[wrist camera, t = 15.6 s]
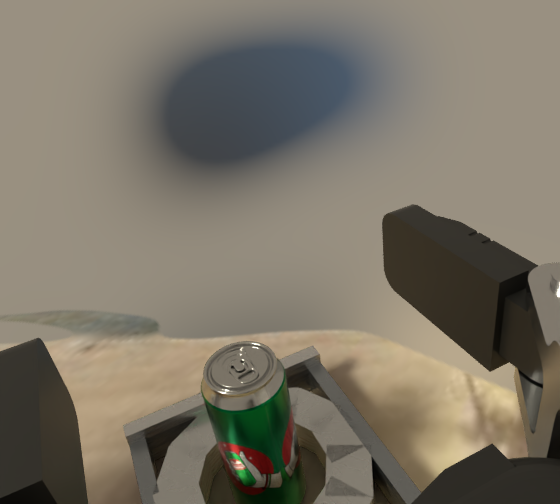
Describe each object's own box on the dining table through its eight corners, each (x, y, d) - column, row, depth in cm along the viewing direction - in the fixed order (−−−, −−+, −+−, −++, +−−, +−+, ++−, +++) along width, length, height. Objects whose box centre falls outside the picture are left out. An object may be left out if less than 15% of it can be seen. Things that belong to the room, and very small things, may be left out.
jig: (188, 681, 27) (172, 652, 25) (136, 455, 40) (122, 425, 38) (436, 537, 31) (437, 503, 30) (317, 375, 44) (312, 345, 43)
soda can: (281, 448, 39) (255, 325, 33) (321, 497, 35) (299, 368, 29) (223, 486, 37) (182, 363, 30) (258, 543, 33) (220, 414, 27)
